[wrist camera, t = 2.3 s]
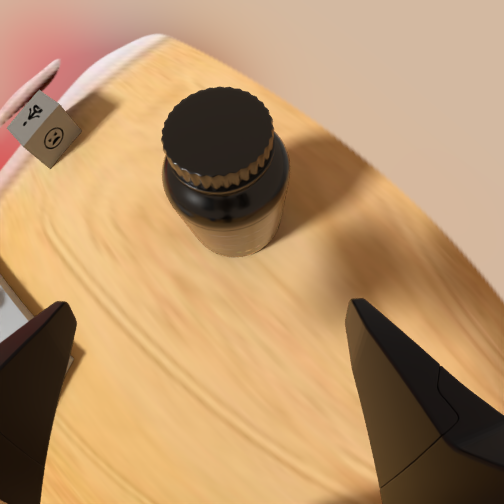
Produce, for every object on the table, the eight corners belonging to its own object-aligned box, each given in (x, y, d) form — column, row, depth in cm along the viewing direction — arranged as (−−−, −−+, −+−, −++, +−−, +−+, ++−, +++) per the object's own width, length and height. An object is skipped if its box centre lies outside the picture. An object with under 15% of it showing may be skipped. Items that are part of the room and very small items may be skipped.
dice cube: (82, 131, 26) (59, 104, 21) (50, 169, 25) (23, 146, 21) (60, 115, 27) (39, 90, 22) (31, 149, 26) (6, 128, 21)
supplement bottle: (182, 192, 24) (129, 97, 13) (262, 165, 25) (265, 55, 13) (206, 272, 23) (155, 224, 11) (293, 243, 23) (326, 168, 12)
